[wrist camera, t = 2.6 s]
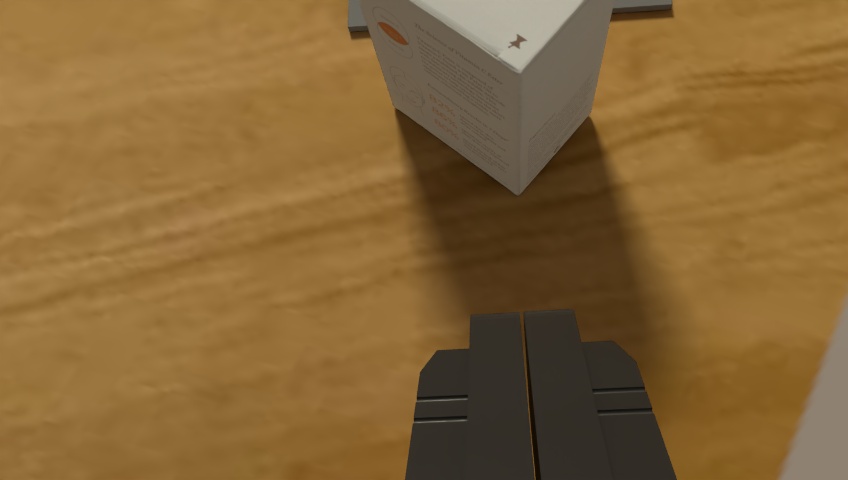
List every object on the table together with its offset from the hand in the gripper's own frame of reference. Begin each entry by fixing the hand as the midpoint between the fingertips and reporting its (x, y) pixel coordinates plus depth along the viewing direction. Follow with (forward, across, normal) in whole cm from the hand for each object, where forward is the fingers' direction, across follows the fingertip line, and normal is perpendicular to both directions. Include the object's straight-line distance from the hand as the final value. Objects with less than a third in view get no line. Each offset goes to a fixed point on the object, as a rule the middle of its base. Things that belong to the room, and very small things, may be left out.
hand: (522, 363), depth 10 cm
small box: (+24, 0, +2) cm, 24 cm away
